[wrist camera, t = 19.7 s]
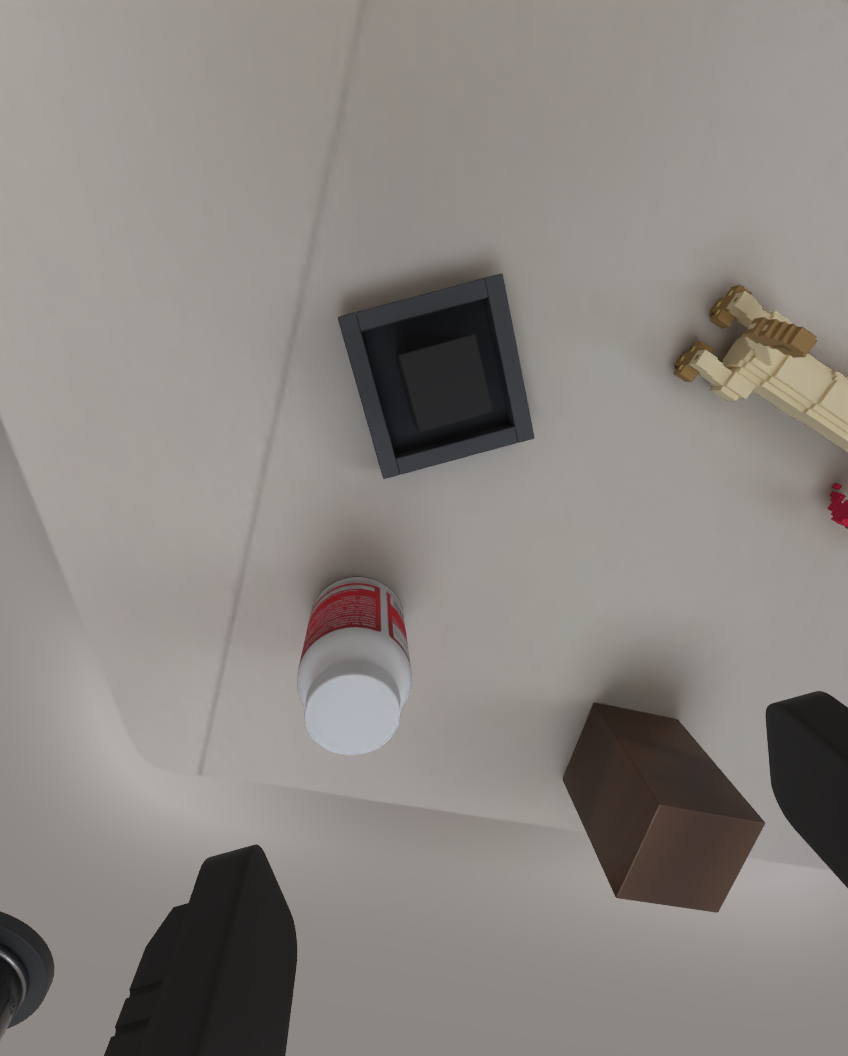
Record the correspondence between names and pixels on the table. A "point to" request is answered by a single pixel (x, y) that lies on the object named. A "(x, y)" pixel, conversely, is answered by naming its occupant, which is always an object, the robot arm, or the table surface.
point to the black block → (444, 383)
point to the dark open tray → (422, 325)
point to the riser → (658, 810)
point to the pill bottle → (354, 667)
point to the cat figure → (774, 373)
